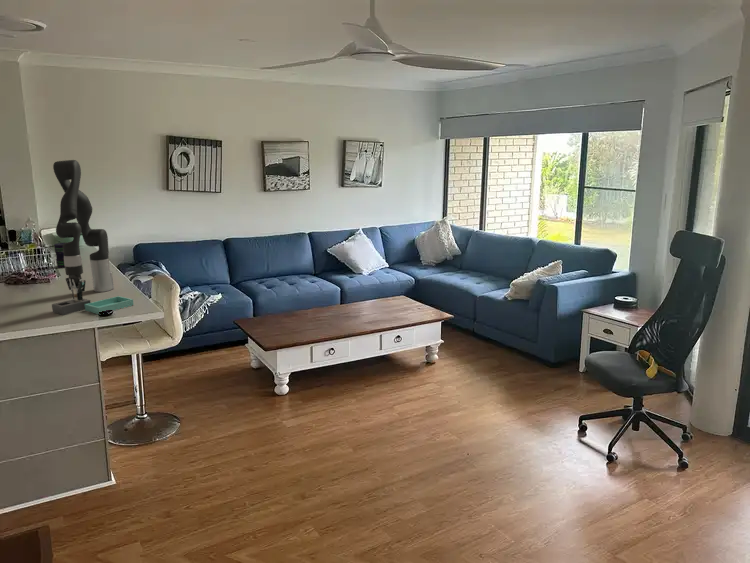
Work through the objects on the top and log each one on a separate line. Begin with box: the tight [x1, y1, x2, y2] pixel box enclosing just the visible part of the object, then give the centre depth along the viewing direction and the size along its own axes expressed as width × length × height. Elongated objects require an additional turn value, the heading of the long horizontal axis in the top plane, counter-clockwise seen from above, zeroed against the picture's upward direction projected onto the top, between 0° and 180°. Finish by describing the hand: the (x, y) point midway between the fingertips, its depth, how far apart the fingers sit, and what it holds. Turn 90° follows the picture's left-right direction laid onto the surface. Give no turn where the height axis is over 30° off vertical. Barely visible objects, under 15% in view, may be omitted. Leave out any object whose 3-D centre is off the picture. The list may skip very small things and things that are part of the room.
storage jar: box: [53, 242, 66, 269], centre depth 387 cm, size 10×10×15 cm
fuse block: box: [51, 298, 92, 316], centre depth 288 cm, size 14×9×4 cm, turn 146°
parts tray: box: [84, 295, 134, 315], centre depth 291 cm, size 18×12×3 cm, turn 146°
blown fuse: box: [72, 285, 82, 302], centre depth 290 cm, size 3×3×10 cm
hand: (77, 299), depth 290 cm, fingers closed on blown fuse, 3 cm apart
